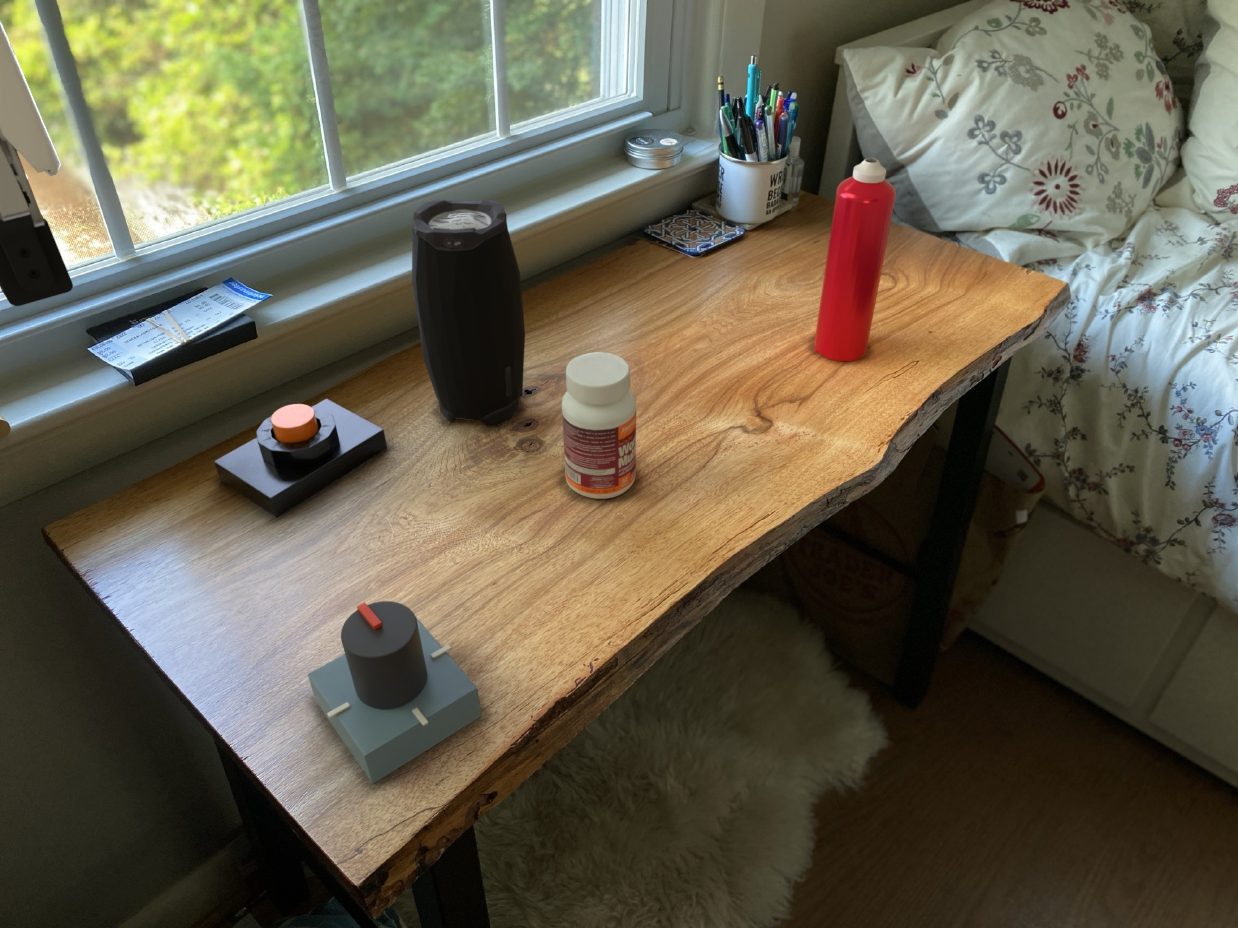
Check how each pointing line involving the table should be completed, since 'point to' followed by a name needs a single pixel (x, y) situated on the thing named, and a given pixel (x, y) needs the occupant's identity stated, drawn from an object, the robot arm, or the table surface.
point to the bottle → (854, 262)
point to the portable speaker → (469, 308)
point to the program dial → (384, 654)
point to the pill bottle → (599, 426)
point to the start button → (294, 423)
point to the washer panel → (397, 711)
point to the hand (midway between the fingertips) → (39, 292)
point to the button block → (300, 459)
